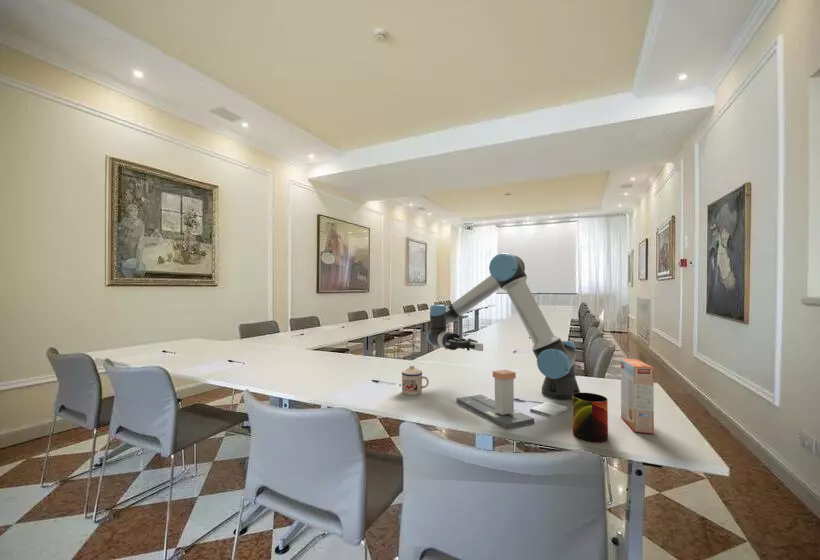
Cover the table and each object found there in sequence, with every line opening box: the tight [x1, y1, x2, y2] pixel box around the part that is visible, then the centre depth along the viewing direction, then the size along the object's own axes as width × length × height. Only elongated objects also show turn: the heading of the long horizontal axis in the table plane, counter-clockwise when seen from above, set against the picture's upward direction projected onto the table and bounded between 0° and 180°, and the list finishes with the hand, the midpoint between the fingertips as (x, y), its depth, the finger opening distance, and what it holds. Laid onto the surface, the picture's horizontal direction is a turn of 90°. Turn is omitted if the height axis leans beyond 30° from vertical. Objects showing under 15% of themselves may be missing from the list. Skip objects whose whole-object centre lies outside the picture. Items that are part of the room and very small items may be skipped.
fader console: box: [455, 394, 535, 430], centre depth 132 cm, size 30×12×2 cm, turn 25°
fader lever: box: [492, 369, 517, 415], centre depth 126 cm, size 5×6×14 cm
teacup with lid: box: [401, 364, 430, 396], centre depth 156 cm, size 12×9×12 cm
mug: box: [572, 392, 609, 444], centre depth 112 cm, size 10×14×12 cm
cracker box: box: [620, 358, 655, 435], centre depth 119 cm, size 14×6×21 cm, turn 164°
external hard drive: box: [529, 401, 568, 418], centre depth 133 cm, size 2×8×12 cm
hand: (481, 347), depth 138 cm, fingers closed
